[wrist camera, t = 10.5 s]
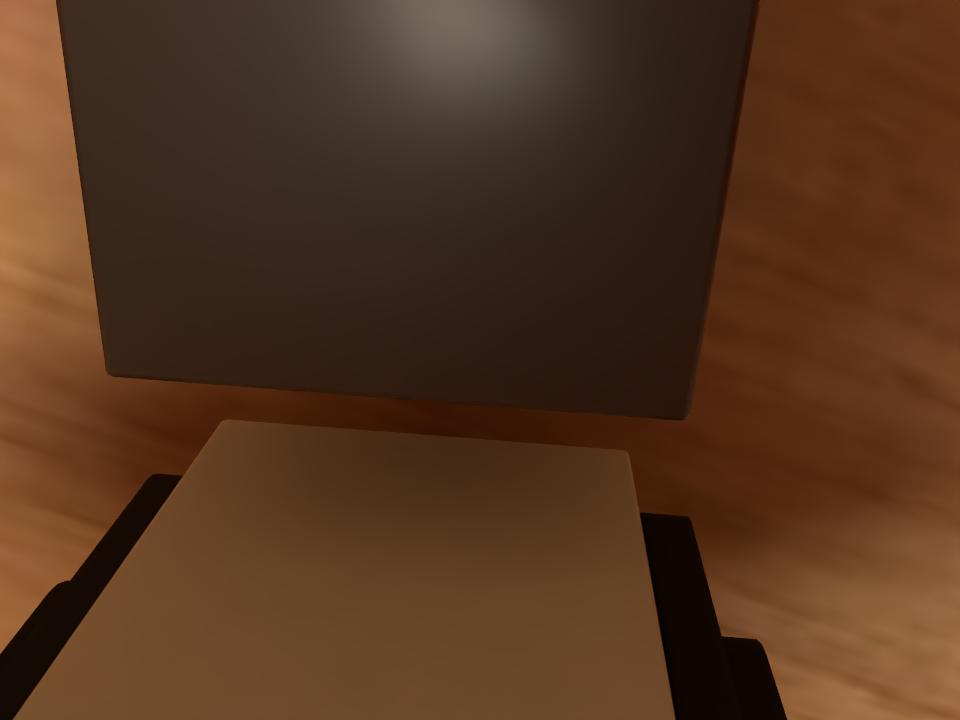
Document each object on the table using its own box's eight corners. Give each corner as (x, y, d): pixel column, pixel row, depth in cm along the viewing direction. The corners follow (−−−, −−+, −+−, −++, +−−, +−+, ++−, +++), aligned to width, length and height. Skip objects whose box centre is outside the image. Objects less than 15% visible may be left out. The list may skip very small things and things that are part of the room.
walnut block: (248, -207, 9) (4, -342, 5) (690, -184, 9) (814, -305, 5) (268, 221, 11) (103, 379, 7) (635, 248, 11) (690, 425, 7)
